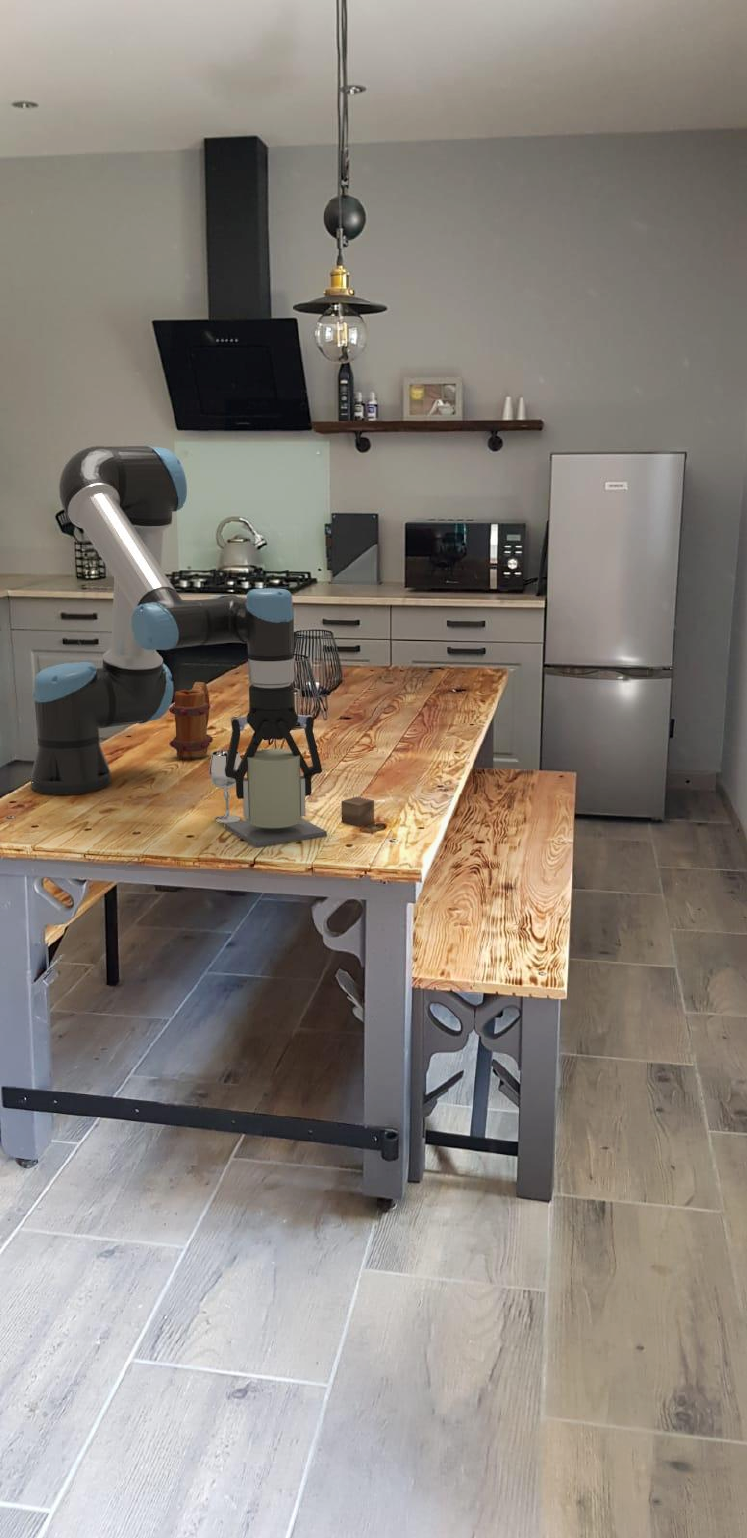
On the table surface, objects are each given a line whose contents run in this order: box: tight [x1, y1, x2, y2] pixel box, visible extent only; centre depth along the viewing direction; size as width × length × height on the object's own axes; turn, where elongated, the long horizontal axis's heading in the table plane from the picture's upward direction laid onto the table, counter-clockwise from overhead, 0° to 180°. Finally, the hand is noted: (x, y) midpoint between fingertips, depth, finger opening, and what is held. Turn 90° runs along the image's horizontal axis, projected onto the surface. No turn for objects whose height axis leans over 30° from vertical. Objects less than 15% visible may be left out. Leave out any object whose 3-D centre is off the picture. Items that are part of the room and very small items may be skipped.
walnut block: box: [341, 796, 375, 828], centre depth 213 cm, size 4×4×4 cm
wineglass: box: [208, 749, 242, 824], centre depth 214 cm, size 6×6×12 cm
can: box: [246, 748, 303, 828], centre depth 206 cm, size 9×9×12 cm
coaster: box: [223, 817, 327, 849], centre depth 208 cm, size 13×13×1 cm
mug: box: [168, 681, 214, 760], centre depth 262 cm, size 15×8×15 cm, turn 168°
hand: (274, 815), depth 207 cm, fingers closed on can, 9 cm apart
